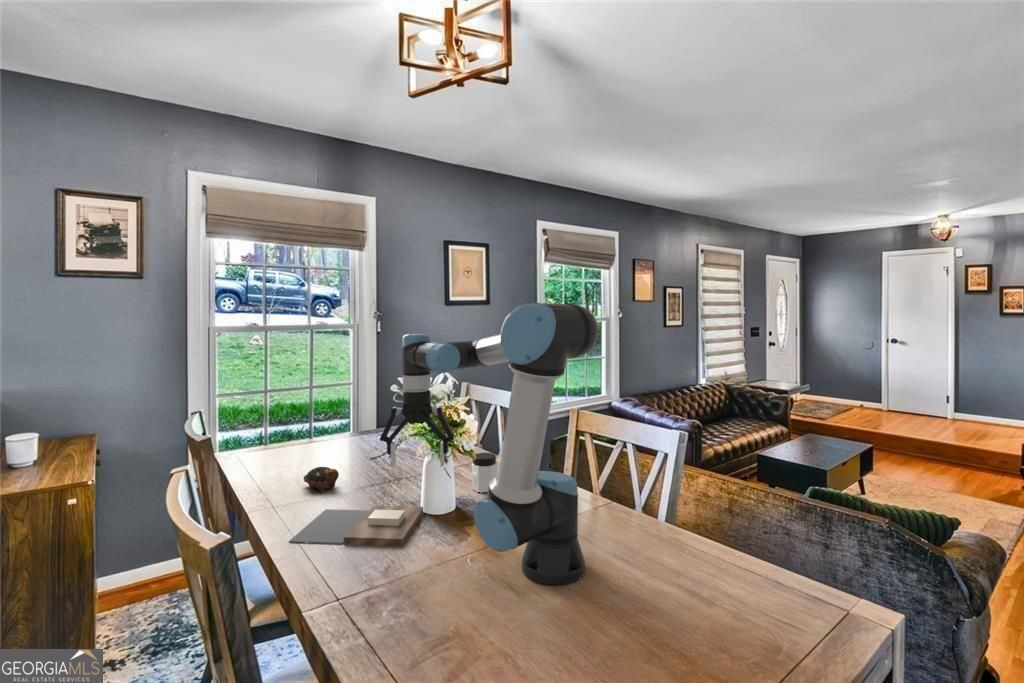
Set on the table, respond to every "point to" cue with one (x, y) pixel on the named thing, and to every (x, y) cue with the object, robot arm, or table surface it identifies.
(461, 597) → the table surface
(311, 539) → the place mat
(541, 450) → the robot arm
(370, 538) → the serving board
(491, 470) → the jar
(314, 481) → the decorative turtle
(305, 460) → the table surface
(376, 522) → the cream rectangular block
